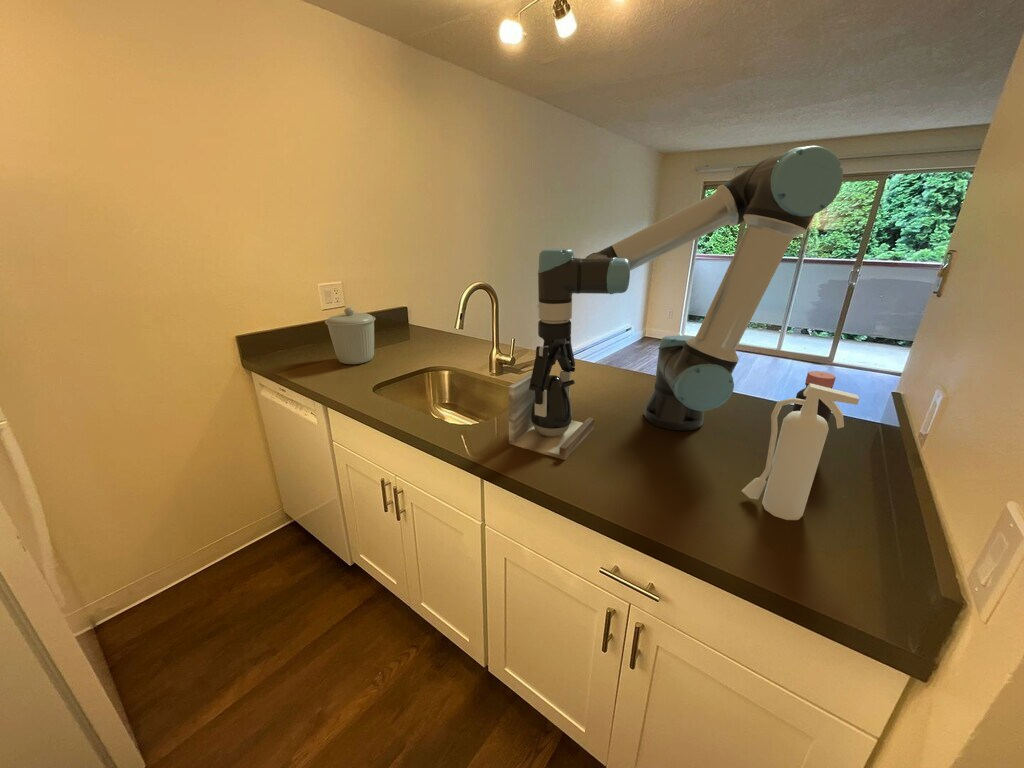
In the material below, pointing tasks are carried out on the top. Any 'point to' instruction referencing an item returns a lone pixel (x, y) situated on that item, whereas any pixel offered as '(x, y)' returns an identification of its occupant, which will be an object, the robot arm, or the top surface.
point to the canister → (352, 336)
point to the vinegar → (821, 380)
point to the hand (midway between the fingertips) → (553, 405)
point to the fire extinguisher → (796, 452)
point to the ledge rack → (529, 437)
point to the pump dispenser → (554, 408)
